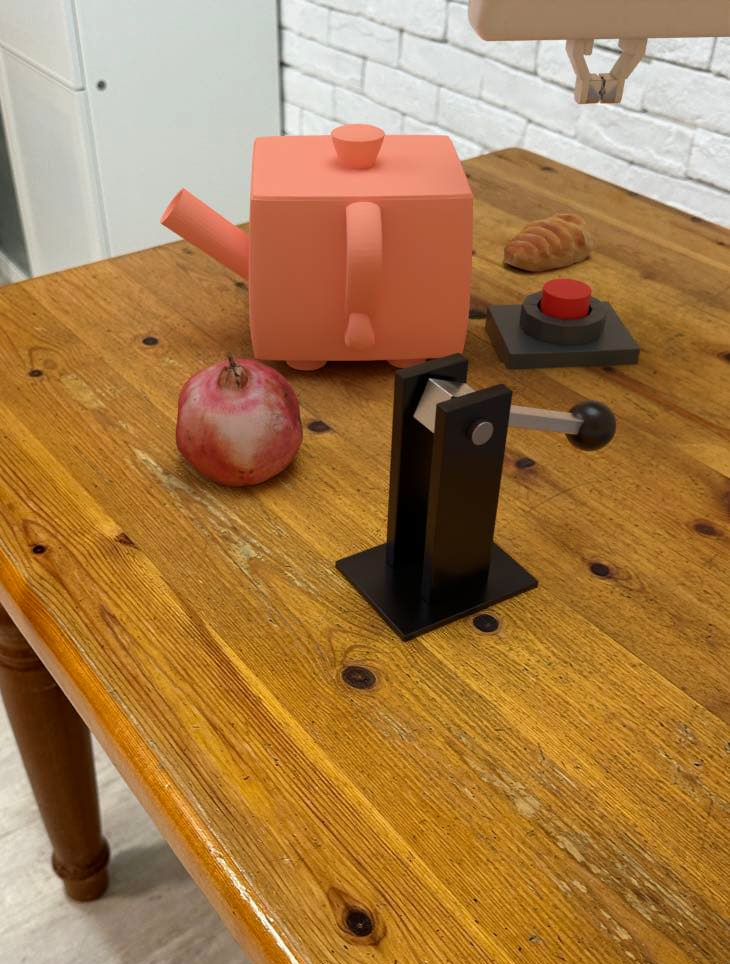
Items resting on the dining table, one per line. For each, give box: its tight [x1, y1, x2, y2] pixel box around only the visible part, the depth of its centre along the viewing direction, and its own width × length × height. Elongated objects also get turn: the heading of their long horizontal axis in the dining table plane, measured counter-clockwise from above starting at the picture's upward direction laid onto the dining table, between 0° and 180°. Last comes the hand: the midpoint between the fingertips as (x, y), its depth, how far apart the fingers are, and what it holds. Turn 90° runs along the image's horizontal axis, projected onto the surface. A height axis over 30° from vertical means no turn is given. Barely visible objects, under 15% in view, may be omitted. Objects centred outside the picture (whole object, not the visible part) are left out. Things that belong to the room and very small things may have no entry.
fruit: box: [175, 351, 304, 488], centre depth 73 cm, size 9×10×10 cm
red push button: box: [540, 278, 593, 320], centre depth 88 cm, size 4×4×2 cm
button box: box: [484, 289, 641, 371], centre depth 90 cm, size 11×9×4 cm
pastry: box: [503, 212, 594, 273], centre depth 105 cm, size 9×7×4 cm
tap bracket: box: [334, 353, 539, 643], centre depth 62 cm, size 10×8×15 cm
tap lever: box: [414, 378, 617, 452], centre depth 62 cm, size 15×3×3 cm, turn 120°
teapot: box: [159, 123, 474, 371], centre depth 87 cm, size 25×23×18 cm
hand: (596, 101), depth 78 cm, fingers closed
